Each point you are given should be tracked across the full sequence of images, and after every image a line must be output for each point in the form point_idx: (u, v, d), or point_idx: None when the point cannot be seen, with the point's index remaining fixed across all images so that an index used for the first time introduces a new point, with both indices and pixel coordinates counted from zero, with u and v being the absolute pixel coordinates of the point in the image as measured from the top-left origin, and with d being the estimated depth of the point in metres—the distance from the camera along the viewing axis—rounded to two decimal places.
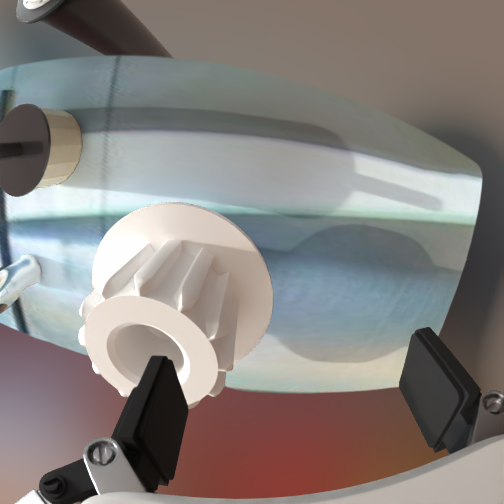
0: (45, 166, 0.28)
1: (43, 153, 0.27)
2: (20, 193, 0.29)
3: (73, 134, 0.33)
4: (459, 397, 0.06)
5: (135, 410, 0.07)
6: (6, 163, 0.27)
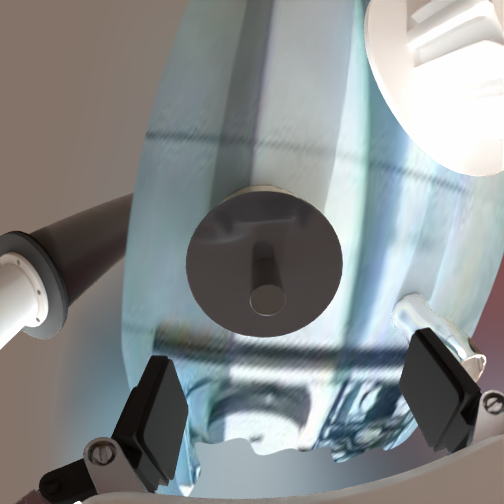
0: (307, 202, 0.22)
1: (285, 203, 0.22)
2: (337, 268, 0.24)
3: (252, 188, 0.28)
4: (459, 397, 0.06)
5: (135, 410, 0.07)
6: None
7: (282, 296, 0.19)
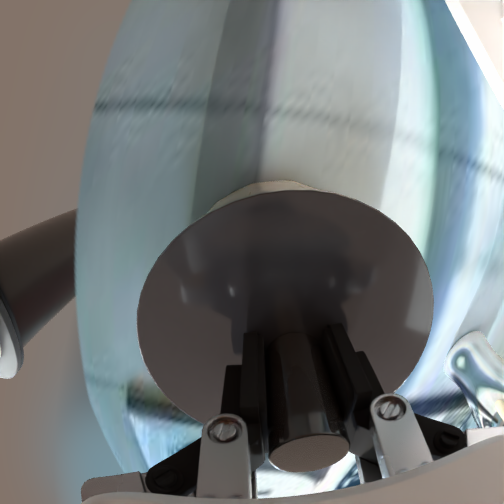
0: None
1: (345, 219, 0.09)
2: (421, 338, 0.11)
3: (264, 184, 0.16)
4: (349, 395, 0.07)
5: (250, 382, 0.08)
6: None
7: (344, 446, 0.06)
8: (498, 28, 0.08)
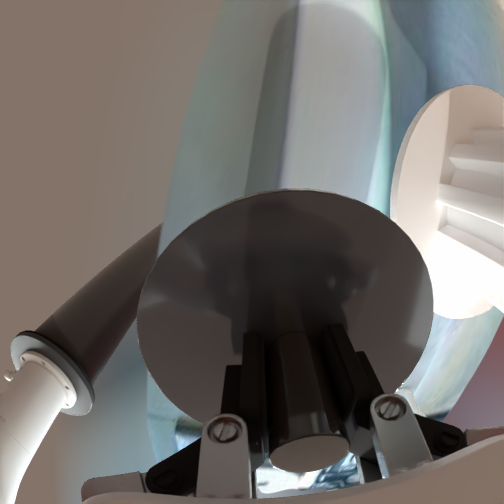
0: (387, 217, 0.10)
1: (345, 219, 0.09)
2: (421, 338, 0.11)
3: None
4: (349, 395, 0.07)
5: (250, 382, 0.08)
6: None
7: (344, 447, 0.06)
8: (428, 243, 0.22)
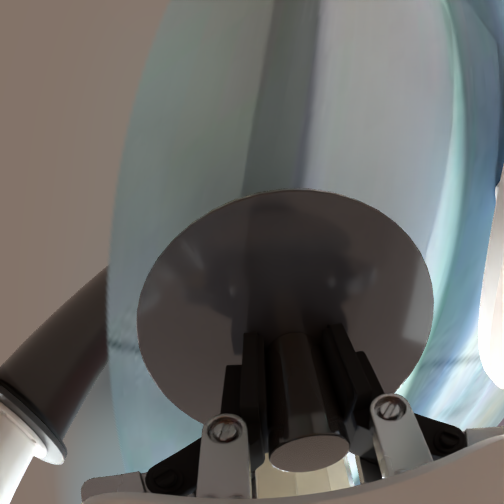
0: None
1: (345, 219, 0.09)
2: (421, 338, 0.11)
3: None
4: (349, 395, 0.07)
5: (250, 382, 0.08)
6: None
7: (344, 446, 0.06)
8: None
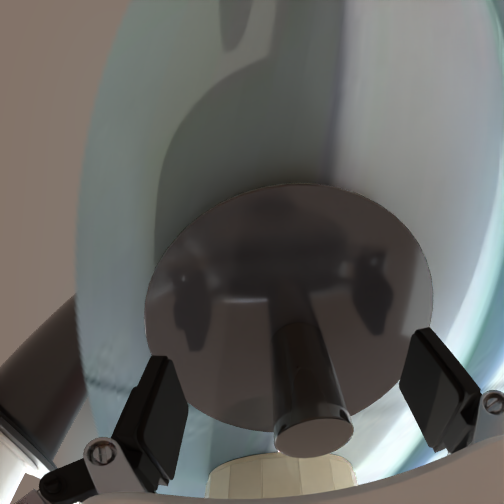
0: (387, 210, 0.10)
1: (347, 212, 0.10)
2: None
3: (273, 479, 0.14)
4: (459, 397, 0.06)
5: (135, 410, 0.07)
6: None
7: (347, 431, 0.07)
8: None
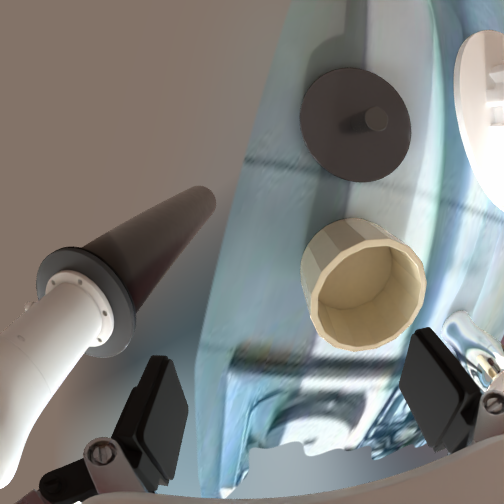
0: (384, 80, 0.25)
1: (371, 78, 0.25)
2: (407, 129, 0.27)
3: (353, 222, 0.30)
4: (459, 397, 0.06)
5: (135, 410, 0.07)
6: (371, 149, 0.28)
7: (385, 117, 0.22)
8: (485, 134, 0.21)
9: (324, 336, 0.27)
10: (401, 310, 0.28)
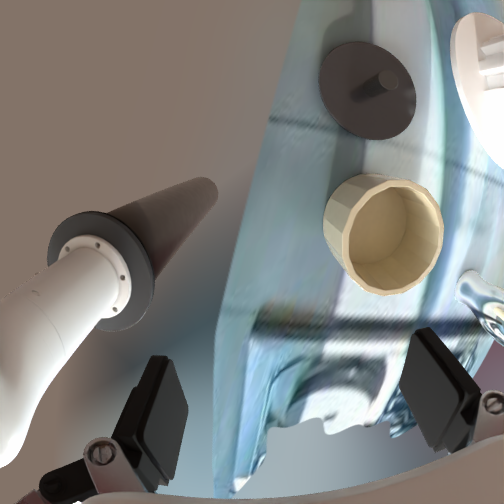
0: None
1: (379, 51, 0.26)
2: (413, 95, 0.28)
3: None
4: (459, 397, 0.06)
5: (135, 410, 0.07)
6: (382, 111, 0.29)
7: (396, 78, 0.23)
8: (481, 98, 0.22)
9: (355, 278, 0.28)
10: (422, 256, 0.29)
